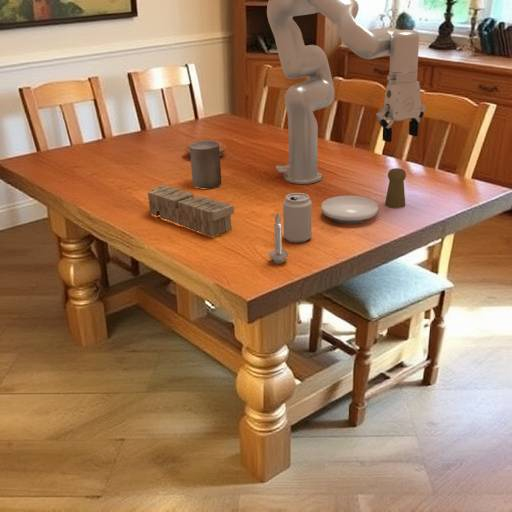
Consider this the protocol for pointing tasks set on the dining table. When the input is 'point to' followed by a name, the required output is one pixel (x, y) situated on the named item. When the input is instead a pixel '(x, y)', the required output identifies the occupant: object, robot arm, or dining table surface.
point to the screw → (278, 243)
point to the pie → (221, 146)
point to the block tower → (191, 210)
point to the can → (297, 217)
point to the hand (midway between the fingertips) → (400, 138)
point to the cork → (396, 188)
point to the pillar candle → (205, 164)
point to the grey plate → (349, 209)
